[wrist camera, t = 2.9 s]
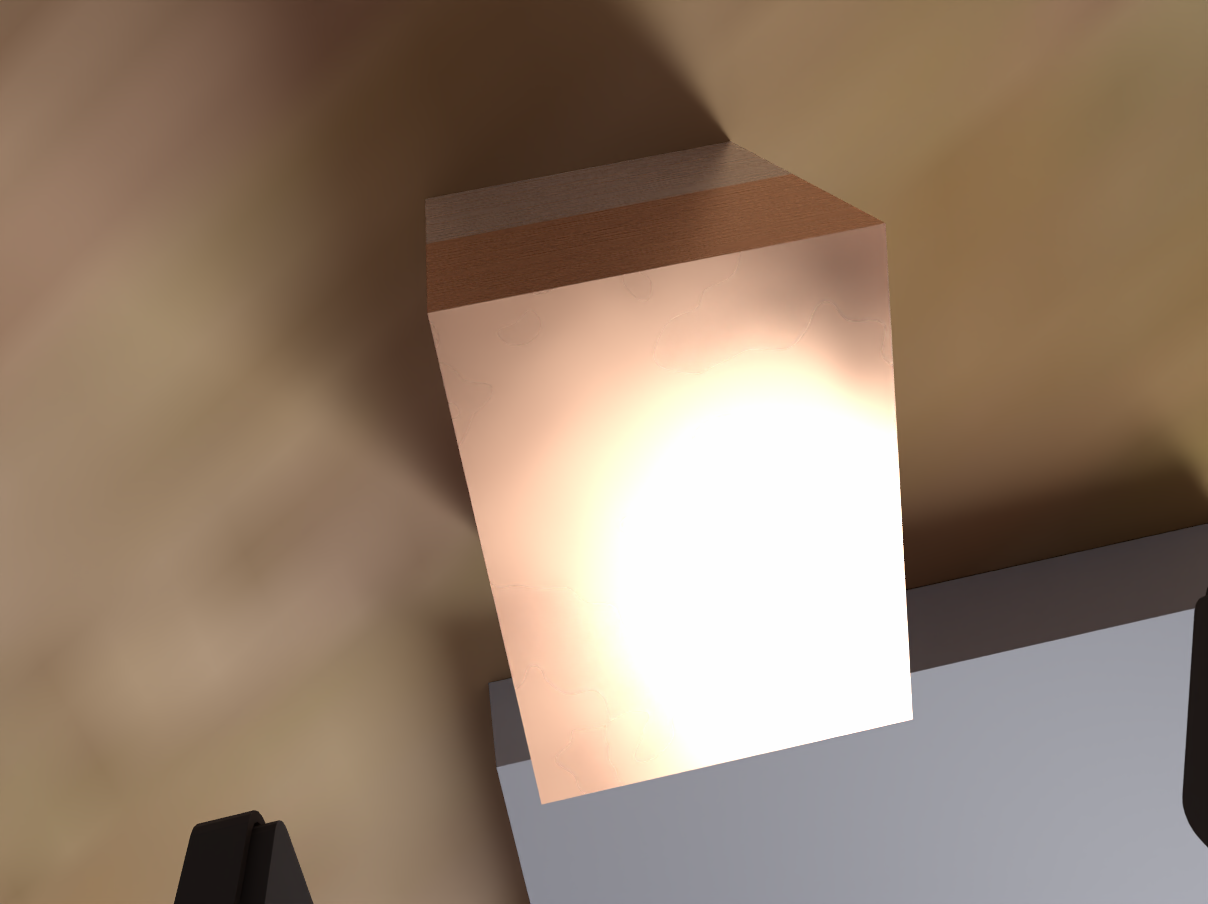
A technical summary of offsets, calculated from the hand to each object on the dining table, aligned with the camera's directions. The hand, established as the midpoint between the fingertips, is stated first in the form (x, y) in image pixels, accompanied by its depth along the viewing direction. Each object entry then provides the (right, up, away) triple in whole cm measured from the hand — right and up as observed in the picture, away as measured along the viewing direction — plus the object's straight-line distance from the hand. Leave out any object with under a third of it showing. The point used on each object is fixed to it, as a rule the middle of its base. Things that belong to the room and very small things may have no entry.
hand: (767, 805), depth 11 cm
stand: (+6, -7, +18) cm, 21 cm away
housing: (-2, +5, +12) cm, 13 cm away
